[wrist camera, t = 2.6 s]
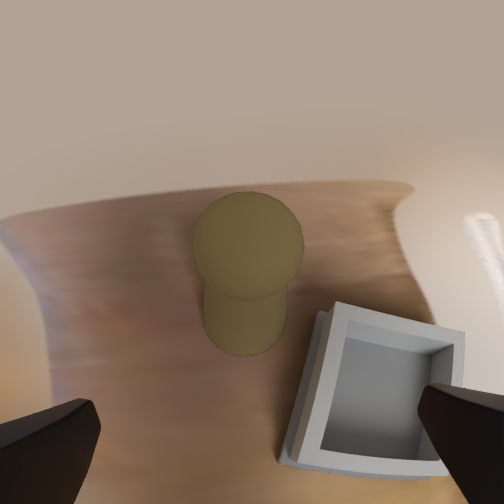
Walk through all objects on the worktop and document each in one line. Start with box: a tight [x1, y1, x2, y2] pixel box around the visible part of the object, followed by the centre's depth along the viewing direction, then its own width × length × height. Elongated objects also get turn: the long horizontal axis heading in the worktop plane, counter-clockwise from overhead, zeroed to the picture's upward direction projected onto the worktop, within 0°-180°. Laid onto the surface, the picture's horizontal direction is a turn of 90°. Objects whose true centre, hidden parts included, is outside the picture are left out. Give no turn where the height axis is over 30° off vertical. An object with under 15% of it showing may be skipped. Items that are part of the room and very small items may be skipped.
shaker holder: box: [277, 301, 465, 480], centre depth 18 cm, size 11×11×4 cm
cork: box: [192, 192, 304, 356], centre depth 18 cm, size 6×6×11 cm
